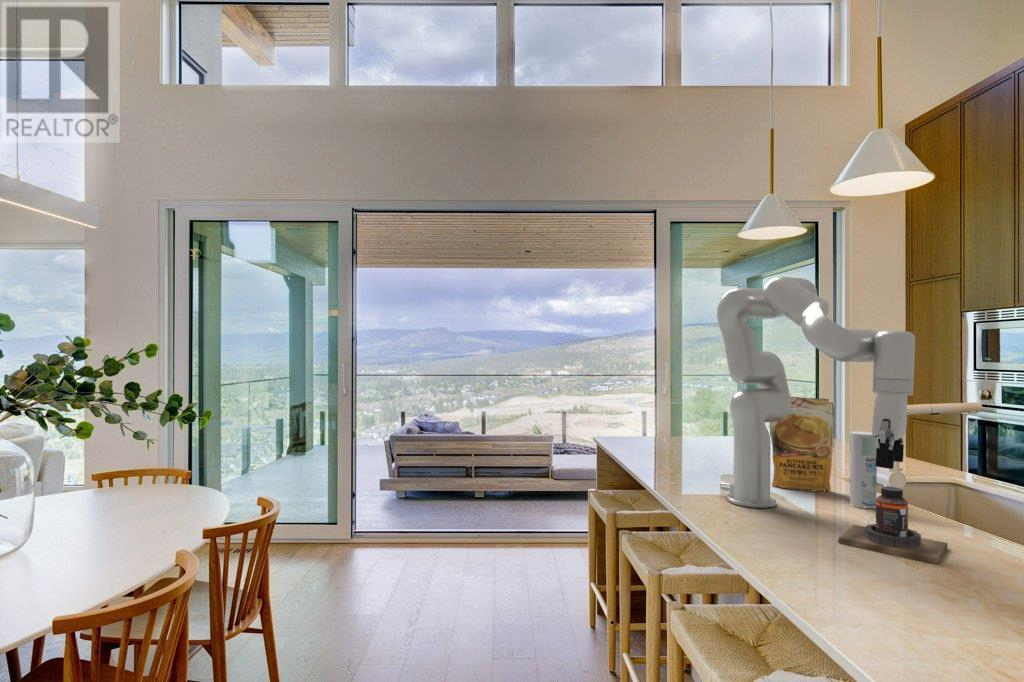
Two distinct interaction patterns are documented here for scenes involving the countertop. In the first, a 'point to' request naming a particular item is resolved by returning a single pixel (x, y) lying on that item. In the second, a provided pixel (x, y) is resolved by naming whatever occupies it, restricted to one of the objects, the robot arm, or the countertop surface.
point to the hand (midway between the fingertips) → (889, 464)
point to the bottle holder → (895, 543)
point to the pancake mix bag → (804, 445)
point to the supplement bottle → (892, 512)
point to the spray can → (863, 469)
